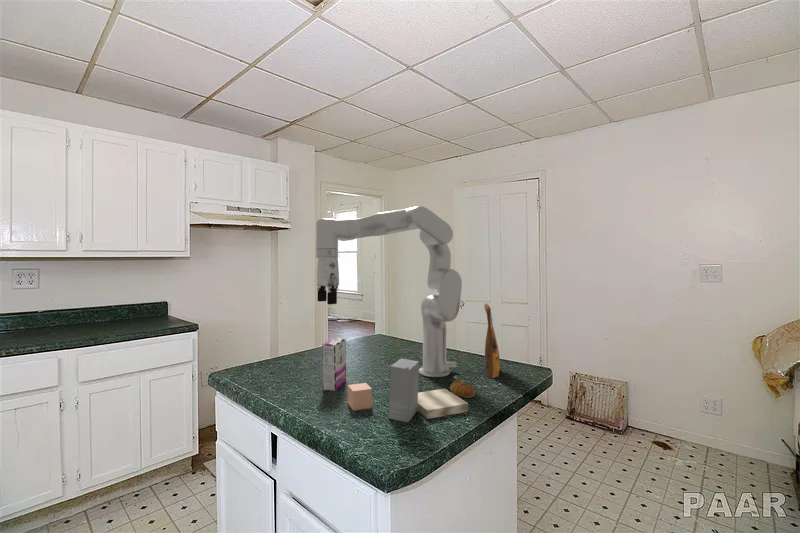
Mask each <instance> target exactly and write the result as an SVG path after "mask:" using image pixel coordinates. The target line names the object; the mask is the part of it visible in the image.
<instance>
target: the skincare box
mask: <svg viewBox="0 0 800 533" xmlns="http://www.w3.org/2000/svg"><path fill="white" fill-rule="evenodd" d="M389 369H390V370H389V371H390V372H389V393H388V394H389V395H388V419H389V420H395V421H399V422H404V423H409V422H410V421H411V420H412V419H413V417H414V416H415V415H416V414H417V412H418V411H417V402H418V393H419V376H420V373H419V369H420V361H418V360H412V359H406V358H399V359H398V360H397V361H396V362H394V363H392V364H391V365H390V366H389Z"/></svg>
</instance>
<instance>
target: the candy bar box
mask: <svg viewBox="0 0 800 533" xmlns="http://www.w3.org/2000/svg"><path fill="white" fill-rule="evenodd" d="M346 341H347V340H346V338H345V337H333V338H332V339H329V340H328V341H327V342H325V343H323V344H322V382H323V383H322V388H323V391H326V390H327V391H329V392H337V391H338V389H340V387H341V386H343V384H344V383H346V381H347V350H346V349H347V344H346V343H347V342H346Z"/></svg>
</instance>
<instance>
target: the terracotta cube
mask: <svg viewBox="0 0 800 533" xmlns="http://www.w3.org/2000/svg"><path fill="white" fill-rule="evenodd" d="M372 401H373V388H372V387H371V386H370V385H369V384H368V383H367V382H362V383H355V384H353V383H352V384H349V385H347V405H348V406H349V407H350V408H351V410H352V411H359V410H360V411H361V410H365V409H372V406H373V405H372V404H373V402H372Z"/></svg>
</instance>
